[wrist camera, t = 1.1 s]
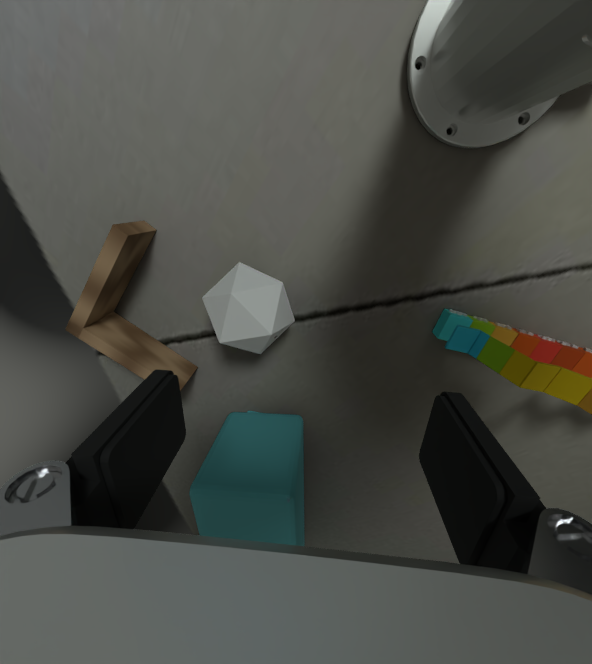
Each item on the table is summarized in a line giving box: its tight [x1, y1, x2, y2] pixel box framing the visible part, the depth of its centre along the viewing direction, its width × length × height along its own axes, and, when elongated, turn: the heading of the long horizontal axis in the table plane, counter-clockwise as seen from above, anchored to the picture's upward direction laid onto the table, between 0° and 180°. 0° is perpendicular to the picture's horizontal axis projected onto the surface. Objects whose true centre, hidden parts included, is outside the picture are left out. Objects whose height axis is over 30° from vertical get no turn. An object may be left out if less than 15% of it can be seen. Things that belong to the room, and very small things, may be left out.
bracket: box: [66, 221, 198, 391], centre depth 33 cm, size 11×19×5 cm, turn 7°
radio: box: [189, 411, 304, 546], centre depth 39 cm, size 34×10×15 cm, turn 1°
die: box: [202, 262, 295, 354], centre depth 30 cm, size 8×9×10 cm
